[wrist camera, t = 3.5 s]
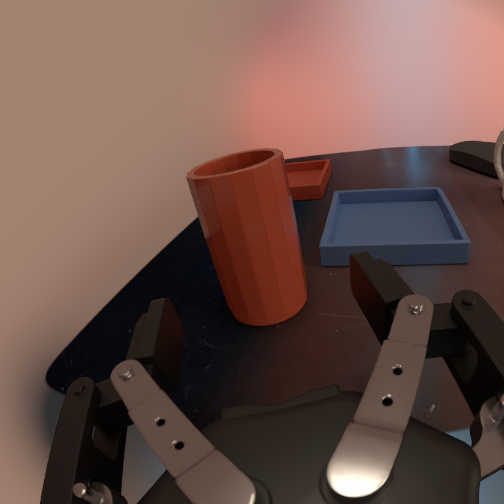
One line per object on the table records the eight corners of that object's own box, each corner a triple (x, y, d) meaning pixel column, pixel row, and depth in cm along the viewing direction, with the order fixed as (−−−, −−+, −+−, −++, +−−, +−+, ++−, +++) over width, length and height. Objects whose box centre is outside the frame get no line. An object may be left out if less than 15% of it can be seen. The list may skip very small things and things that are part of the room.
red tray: (322, 198, 40) (320, 184, 39) (232, 205, 45) (228, 193, 44) (332, 170, 50) (330, 159, 50) (260, 177, 56) (257, 166, 55)
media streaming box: (441, 160, 45) (440, 143, 44) (485, 150, 46) (484, 136, 45) (504, 183, 32) (504, 163, 31) (540, 170, 34) (541, 154, 32)
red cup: (256, 339, 21) (209, 183, 16) (217, 300, 26) (174, 173, 21) (324, 295, 23) (301, 150, 18) (277, 267, 28) (249, 147, 23)
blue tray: (468, 263, 21) (471, 242, 20) (321, 266, 27) (318, 246, 26) (440, 202, 32) (440, 186, 31) (336, 206, 37) (334, 191, 36)
